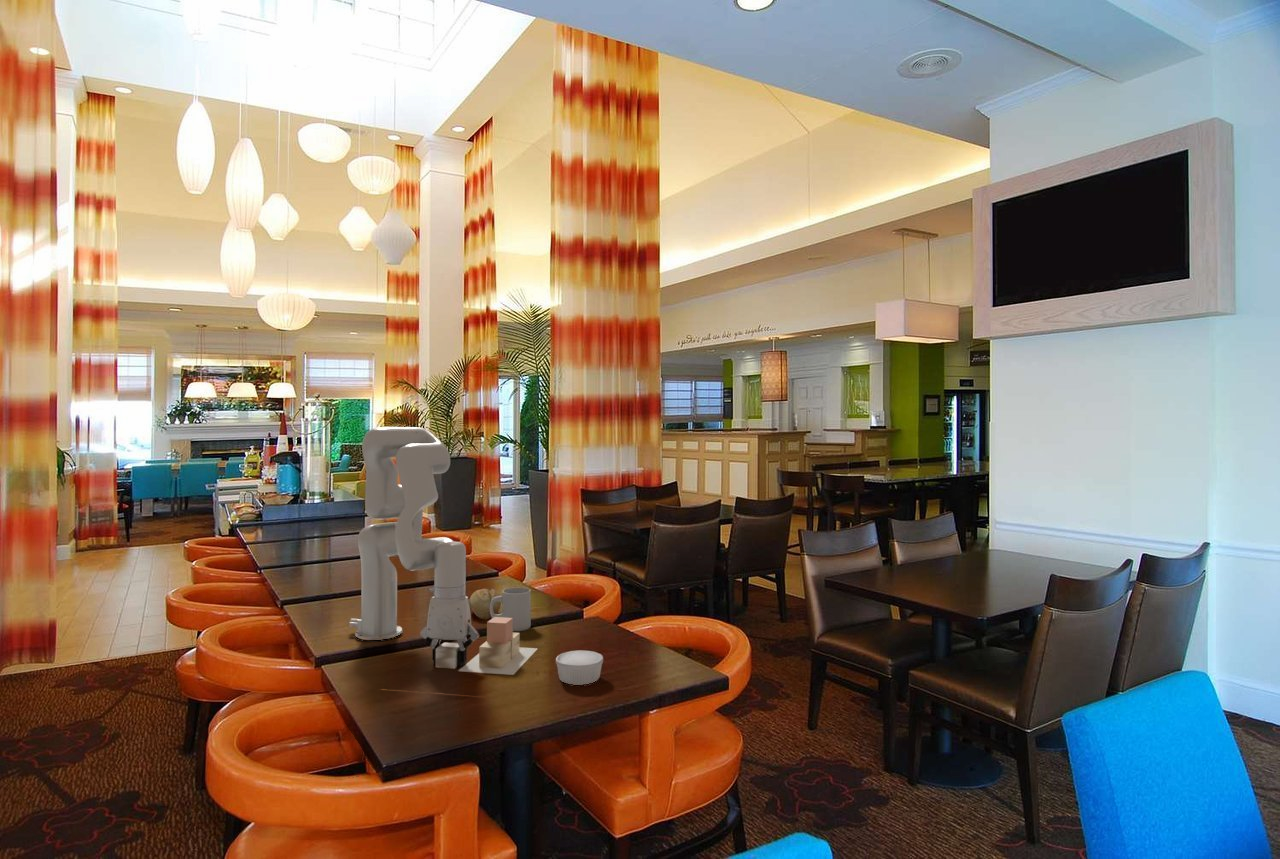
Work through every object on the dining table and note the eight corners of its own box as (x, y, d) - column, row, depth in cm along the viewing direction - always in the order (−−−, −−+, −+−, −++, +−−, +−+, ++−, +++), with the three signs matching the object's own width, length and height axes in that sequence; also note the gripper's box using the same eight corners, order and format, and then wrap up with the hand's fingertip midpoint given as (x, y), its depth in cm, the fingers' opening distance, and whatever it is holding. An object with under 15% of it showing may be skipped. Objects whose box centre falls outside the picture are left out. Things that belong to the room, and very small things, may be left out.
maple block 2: (489, 657, 181) (489, 638, 181) (497, 650, 187) (497, 631, 186) (511, 659, 180) (512, 639, 180) (519, 651, 186) (519, 632, 186)
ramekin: (550, 674, 170) (550, 653, 170) (593, 668, 175) (593, 647, 175) (563, 691, 160) (563, 668, 160) (609, 684, 164) (609, 661, 164)
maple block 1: (479, 667, 174) (479, 646, 174) (488, 659, 180) (488, 639, 180) (502, 668, 173) (502, 648, 173) (510, 660, 179) (510, 640, 179)
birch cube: (435, 668, 173) (435, 648, 173) (444, 662, 178) (444, 642, 178) (454, 670, 173) (454, 649, 172) (462, 663, 177) (463, 643, 177)
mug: (529, 622, 214) (529, 586, 214) (531, 630, 206) (532, 593, 206) (489, 624, 211) (489, 588, 211) (490, 633, 203) (490, 595, 203)
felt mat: (458, 672, 171) (458, 670, 171) (488, 646, 191) (488, 645, 191) (513, 675, 169) (513, 674, 169) (537, 649, 188) (537, 648, 188)
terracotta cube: (486, 641, 178) (487, 622, 178) (494, 636, 183) (494, 616, 182) (505, 643, 177) (505, 623, 177) (512, 637, 182) (512, 618, 182)
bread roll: (495, 607, 231) (495, 583, 231) (505, 619, 218) (505, 593, 217) (465, 610, 227) (465, 585, 227) (474, 622, 214) (474, 596, 214)
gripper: (410, 593, 173) (410, 667, 173) (477, 597, 170) (476, 671, 170) (424, 586, 180) (423, 657, 180) (488, 590, 178) (487, 661, 178)
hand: (449, 663), depth 175 cm, fingers open, 5 cm apart
